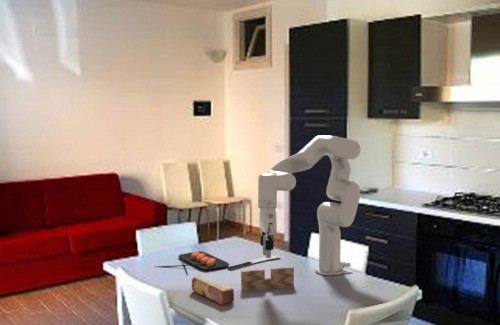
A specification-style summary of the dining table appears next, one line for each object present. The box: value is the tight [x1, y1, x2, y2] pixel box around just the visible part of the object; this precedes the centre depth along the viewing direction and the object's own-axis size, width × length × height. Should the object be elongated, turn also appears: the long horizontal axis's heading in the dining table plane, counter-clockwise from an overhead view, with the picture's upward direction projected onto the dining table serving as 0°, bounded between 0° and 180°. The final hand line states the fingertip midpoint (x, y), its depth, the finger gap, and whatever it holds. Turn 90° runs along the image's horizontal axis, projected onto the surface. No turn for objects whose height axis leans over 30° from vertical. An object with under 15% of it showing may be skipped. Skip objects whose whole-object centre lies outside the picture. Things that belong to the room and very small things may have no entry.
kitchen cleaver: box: [227, 254, 281, 271], centre depth 253 cm, size 31×2×10 cm
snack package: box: [191, 274, 235, 307], centre depth 206 cm, size 21×7×7 cm, turn 39°
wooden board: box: [240, 266, 295, 292], centre depth 216 cm, size 22×2×8 cm, turn 104°
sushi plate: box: [155, 251, 230, 276], centre depth 250 cm, size 29×30×4 cm
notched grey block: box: [262, 235, 272, 258], centre depth 215 cm, size 6×2×8 cm, turn 14°
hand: (266, 247), depth 215 cm, fingers closed on notched grey block, 6 cm apart
